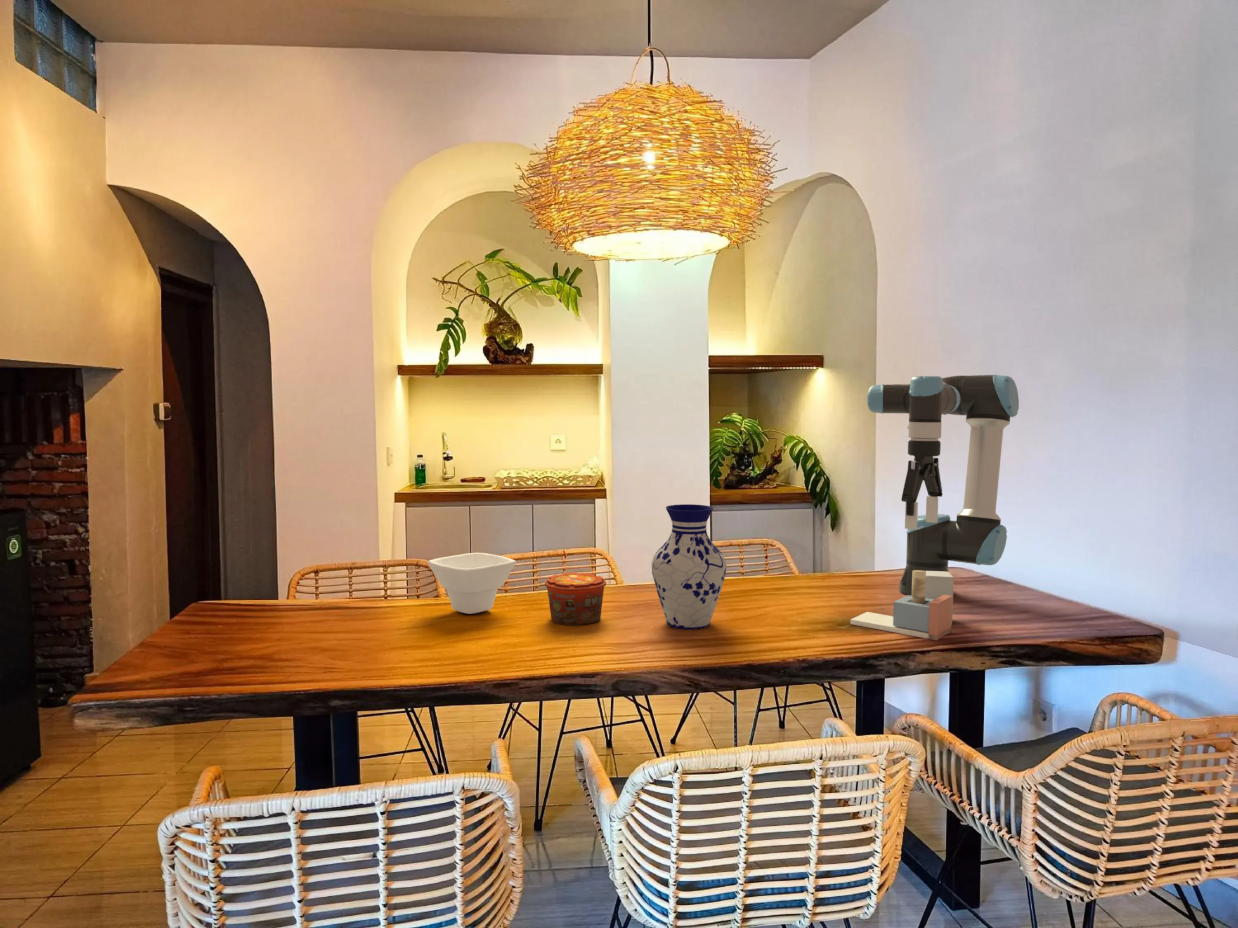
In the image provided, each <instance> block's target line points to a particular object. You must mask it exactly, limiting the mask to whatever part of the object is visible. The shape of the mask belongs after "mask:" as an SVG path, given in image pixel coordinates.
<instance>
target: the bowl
mask: <svg viewBox="0 0 1238 928" xmlns="http://www.w3.org/2000/svg"><path fill="white" fill-rule="evenodd" d="M516 564H517V561H516V560H514V559H512V558H509V557H505V556H503V555H498V554H491V553H486V552H471V553H470V552H469V553H462V554H456V555H450V556H449V555H448V556H444V557H438V558H434V559H430V560H427V565H428V566H429V568H430V570H431V572H432V573H433V574H434V576H435V578H436V579H437V581H438V583H439V584H440V586H441V587H442V588H444V589H446V592H447V594H448V599H449V602H450V605H451V608H452V609H453V610H454V611H456V612H459V613H463V614H467V615H468V614H469V615H470V614H477V613H481V612H485V611H489V610H492V608H493V606H494V603H495V599H496V595H497V594H498V593H497V592H498V589H499V588H500V587H503V586H504V584H505V582H506V581H507V579H508V578H509V575H510V574H511V572H512V570H513V569H514V568H515V565H516Z"/></svg>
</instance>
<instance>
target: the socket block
mask: <svg viewBox="0 0 1238 928" xmlns="http://www.w3.org/2000/svg"><path fill="white" fill-rule="evenodd" d="M911 599H912V596H910V595H907V594H906V595H905V596H903V597H901V598H899V599H897V600H895V601H893V626H898V627H904V628H909V629H915V630H920V631H925V632H929V606H930V602H931V601H933V600H934V599H928V598H925V604H918V603H912V602H911Z"/></svg>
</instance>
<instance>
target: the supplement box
mask: <svg viewBox="0 0 1238 928" xmlns="http://www.w3.org/2000/svg"><path fill="white" fill-rule="evenodd" d="M954 578H955V577H954V576H953V575H952V573H950V571H949V572H944V571H926V589H925V598H928V599H934V600H935V599H937V598H939V597H941V596H943V595H950V596H952V614H953V611H954V610H953V609H954V608H953V606H954V589H953V588H954V582H955V579H954ZM952 625H953V620H952V621H951V626H952Z"/></svg>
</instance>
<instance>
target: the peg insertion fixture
mask: <svg viewBox="0 0 1238 928" xmlns="http://www.w3.org/2000/svg"><path fill="white" fill-rule="evenodd" d="M951 621H952V622H953V613H952V596H950V595H943V596H941V597H939V598H937V599H935V600H933V601H931V602H930V606H929V632H925V631H920V630H915V629H909V628H904V627H898V626H893V616H892V615H887V614H883V613H882V614H881V613H877V612H876V613H875V612H871V611H866V612H864V613H861V614H859V615H857V616H855V617H852V618H850V625H854V626H859V627H864V628H870V629H875V630H880V631H885V632H891V633H896V634H902V635H907V636H912V637H918V638H923V639H928V640H933V641H938V640H939V639H941V638H943V637H944V636H946V635H948V634H949V633H952V625H951Z"/></svg>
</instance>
